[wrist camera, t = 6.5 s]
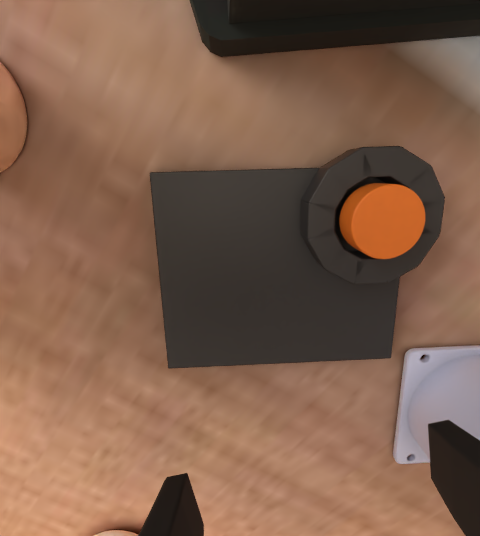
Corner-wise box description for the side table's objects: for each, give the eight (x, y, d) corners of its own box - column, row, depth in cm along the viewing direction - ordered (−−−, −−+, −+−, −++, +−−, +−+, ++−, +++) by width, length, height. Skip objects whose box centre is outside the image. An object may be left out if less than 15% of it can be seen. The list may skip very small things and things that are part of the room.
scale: (413, 149, 17) (453, 144, 14) (392, 345, 19) (421, 374, 17) (154, 156, 16) (138, 152, 13) (172, 354, 19) (162, 387, 16)
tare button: (409, 182, 14) (431, 182, 13) (402, 250, 15) (421, 258, 14) (340, 183, 14) (353, 185, 13) (337, 252, 15) (349, 261, 14)
